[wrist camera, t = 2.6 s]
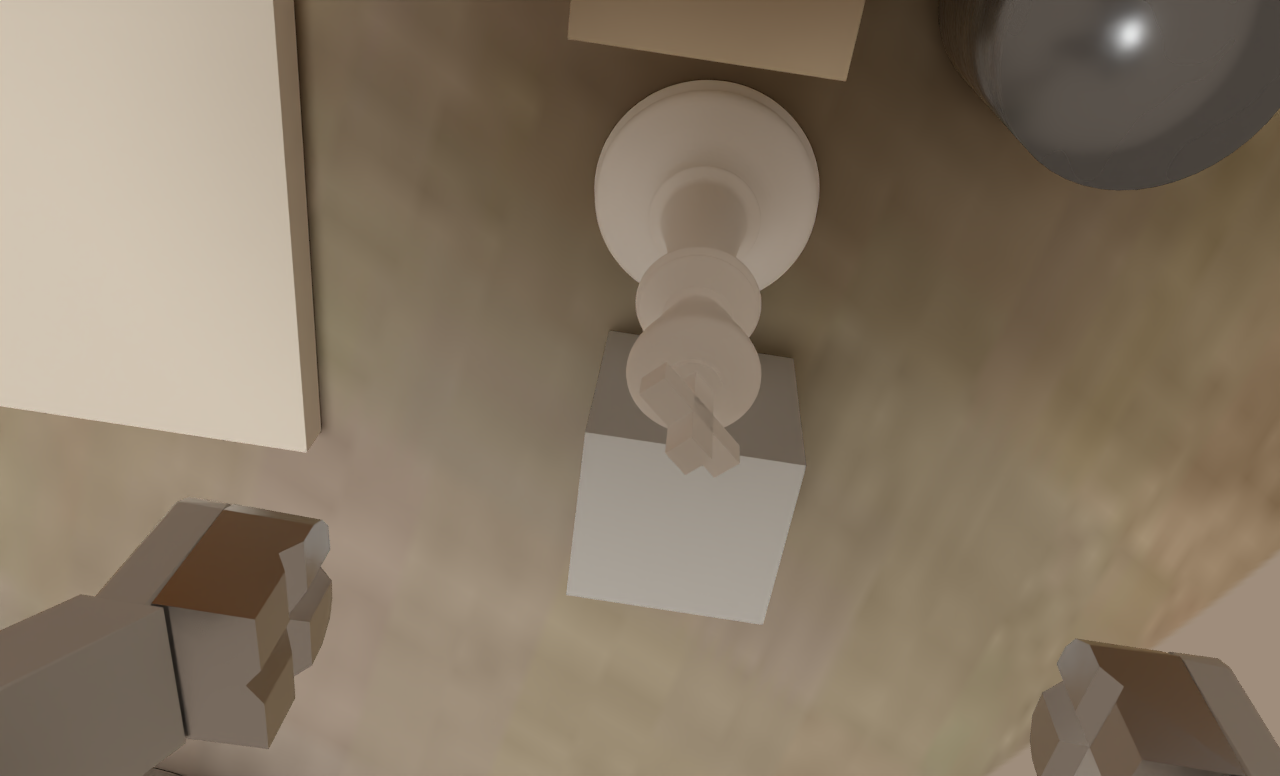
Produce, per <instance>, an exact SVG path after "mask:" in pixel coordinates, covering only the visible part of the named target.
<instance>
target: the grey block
mask: <svg viewBox="0 0 1280 776" xmlns="http://www.w3.org/2000/svg"><path fill="white" fill-rule="evenodd" d="M639 336H640V335H636V334H629V333H622V332H616V331H609V333H608V338H607V342H606V346H605V350H604V355H603V359H602V363H601V367H600V372H599V376H598V380H597V384H596V389H595V393H594V397H593V401H592V406H591V410H590V414H589V418H588V423H587V427H586V431H585V439H584V447H583V456H582V464H581V473H580V482H579V490H578V499H577V507H576V516H575V524H574V533H573V541H572V550H571V558H570V567H569V576H568V584H567V593H566V595H570V596H577V597H583V598H590V599H596V600H603V601H609V602H616V603H623V604H629V605H636V606H642V607H649V608H655V609H662V610H668V611H675V612H682V613H688V614H695V615H701V616H708V617H714V618H721V619H727V620H734V621H741V622H747V623H754V624H760V625H763V622H764V619H765V615H766V611H767V608H768V604H769V600H770V597H771V593H772V589H773V586H774V582H775V578H776V575H777V571H778V567H779V564H780V560H781V556H782V553H783V549H784V545H785V542H786V538H787V534H788V531H789V527H790V523H791V520H792V516H793V513H794V509H795V505H796V502H797V498H798V494H799V491H800V487H801V483H802V480H803V476H804V472H805V469H806V459H805V451H804V442H803V434H802V426H801V417H800V409H799V401H798V392H797V384H796V375H795V367H794V359H793V358H787V357H780V356H774V355H767V354H761V353H757V354H758V356H759V360H760V364H761V384H760V389H759V392H758V395H757V397H756V399H755V401H754V403H753V404H752V406H751V407H750V408H749V410H748V411H747V412H746V413H745V414H744V415H743V416H742V417H741V418H739V419H738V420H737V421H735V422H734V423H732V424H730V425H728V426H726V427H724V428H725V429H726V431H727V432H728V433H729V434H730V435H731V436H732V437H733V439H734V440H735V441H736V442H737V443H738V444H739V445H740V464H738V465H736V466H735V467H733V468H731V469H729V470H728V471H726V472H724V473H722V474H721V475H719V476H717V477H715V478H714V477H713V476H712V475H711V474H710V473H709V472H708V471H707V469H706V468H705V467H704V466H703V465H702V466H700V467H699V468H697V469H695V470H693V471H692V472H690V473H688V474H687V475H685V474H684V473H683V472H682V471H681V470H680V469H679V468H678V467H677V466H676V465H675V463H674V462H673V461H672V460H671V459H670V458H669V457H668V456H667V455H666V454H665V449H666V439H667V430H668V428H665V427H663V426H661V425H659V424H657V423H656V422H654V421H652V420H651V419H650V418H649V417H647V416H646V415H645V414H644V413H643V412H642V411H641V410H640V409H639V407H638V406H637V405H636V403H635V402H634V400H633V398H632V396H631V394H630V392H629V389H628V385H627V379H626V366H627V360H628V357H629V353H630V351H631V349H632V347H633V345H634V343H635V342H636V340H637V339H638V337H639Z"/></svg>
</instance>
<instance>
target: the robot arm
mask: <svg viewBox="0 0 1280 776" xmlns="http://www.w3.org/2000/svg"><path fill="white" fill-rule="evenodd" d="M329 551H330V541H329V530H328V525H327V524H326V523H325V522H324V521H323V520H320V519H315V518H309V517H304V516H298V515H293V514H287V513H281V512H276V511H270V510H265V509H259V508H254V507H248V506H243V505H237V504H233V505H231V504H227V503H221V502H216V501H210V500H205V499H199V498H194V497H187V498H185V499H182V500H180V501H178V502H176V503H175V504H174V505H173V506H172V507H171V509H170V510H169V511H168V512H167V513H166V514H165V516H164V517H163V518H162V519H161V520H160V521H159V523H158V524H157V525H156V526H155V527H154V528H153V530H152V531H151V532H150V533H149V534H148V535H147V537H146V538H145V539H144V540H143V541H142V542H141V544H140V545H139V546H138V547H137V548H136V549H135V551H134V552H133V553H132V554H131V555H130V556H129V558H128V559H127V560H126V561H125V562H124V563H123V565H122V566H121V567H120V568H119V569H118V570H117V572H116V573H115V574H114V575H113V576H112V577H111V579H110V580H109V581H108V582H107V583H106V584H105V586H104V587H103V588H102V589H101V590H100V591H99V593H98V594H97V595H96V596H95V597H94V596H87V595H79V596H76V597H74V598H72V599H70V600H67V601H65V602H63V603H61V604H58V605H56V606H54V607H52V608H50V609H47V610H45V611H43V612H41V613H38V614H36V615H34V616H32V617H30V618H27V619H25V620H23V621H21V622H18V623H16V624H14V625H12V626H9V627H7V628H5V629H3V630H1V631H0V776H142V775H143V774H145V773H146V772H148V771H149V770H150V769H152V768H153V767H154V766H156V765H157V764H158V763H160V762H161V761H162V760H164V759H165V758H166V757H168V756H169V755H171V754H172V753H173V752H175V751H176V750H177V749H179V748H180V747H181V746H183V745H184V744H185V743H186V738H188V739H196V740H204V741H211V742H219V743H227V744H234V745H242V746H250V747H257V748H265V749H269V747H270V745H271V743H272V742H273V740H274V738H275V736H276V734H277V732H278V730H279V728H280V726H281V724H282V722H283V720H284V719H285V717H286V715H287V713H288V711H289V709H290V707H291V705H292V703H293V701H294V699H295V687H294V676H295V675H297V674H299V673H300V672H302V671H303V670H305V669H307V668H308V667H310V666H312V664H313V662H314V660H315V658H316V656H317V654H318V652H319V650H320V648H321V646H322V643H323V640H324V637H325V633H326V630H327V626H328V623H329V620H330V613H331V605H332V580H331V579H330V578H329V577H328V575H327V574H326V573H325V572H324V571H323V569H322V568H321V565H322V563H323V561H324V560H325V558H326V556H327V554H328V552H329ZM1057 666H1058V668H1059V671H1060V674H1061V676H1062V679H1063V681H1062V682H1060V683H1058V684H1056V685H1055V686H1053V687H1051V688H1050V689H1048V690H1046V691H1044V692H1043V693H1042V694H1041V697H1040V699H1039V701H1038V703H1037V706H1036V708H1035V710H1034V713H1033V715H1032V724H1031V733H1030V745H1031V753H1032V760H1033V764H1034V767H1035V770H1036V773H1037V776H1280V748H1279V746H1278V744H1277V743H1276V742H1275V740H1274V738H1273V736H1272V735H1271V733H1270V732H1269V730H1268V728H1267V727H1266V725H1265V723H1264V722H1263V720H1262V718H1261V717H1260V715H1259V714H1258V712H1257V710H1256V709H1255V707H1254V705H1253V704H1252V702H1251V701H1250V699H1249V697H1248V696H1247V694H1246V693H1245V691H1244V689H1243V688H1242V686H1241V685H1240V683H1239V681H1238V680H1237V678H1236V676H1235V675H1234V673H1233V671H1232V670H1231V669H1230V667H1229V666H1227V665H1226V664H1225V663H1223V662H1222V661H1221V660H1219V659H1218V658H1211V657H1204V656H1196V655H1189V654H1182V653H1174V652H1169V653H1166V652H1162V651H1156V650H1149V649H1142V648H1136V647H1129V646H1122V645H1116V644H1109V643H1102V642H1096V641H1089V640H1082V639H1075V640H1073V641H1072V642H1071V643H1070V644H1069V645H1067V646H1066V647H1065V649H1064V651H1063V653H1062V655H1061V657H1060V658H1059V660H1058V662H1057Z"/></svg>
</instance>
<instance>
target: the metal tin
mask: <svg viewBox="0 0 1280 776" xmlns="http://www.w3.org/2000/svg"><path fill="white" fill-rule="evenodd" d="M938 13H939V26H940V32H941V38H942V41H943V44H944V47H945V50H946V52H947V54H948V56H949V58H950V60H951V63H952V64H953V66H954V67H955V69H956V70H957V71H958V73H959V74H960V76H961V77H962V78H963V79H964V80H965V81H966V82H967V83H968V84H969V86H970V87H971V88H972V89H973V90H974V91H975V92H976V93H977V94H978V96H979V97H980V98H981V99H982V100H983V101H984V102H985V103H986V105H987V106H988V107H989V108H990V109H991V110H992V111H993V112H994V113H995V115H996V116H997V117H998V118H999V119H1000V120H1001V121H1002V122H1003V123H1004V125H1005V126H1006V127H1007V128H1008V129H1009V130H1010V131H1011V132H1012V133H1013V135H1014V136H1015V137H1016V138H1017V139H1018V140H1019V141H1020V142H1021V143H1022V145H1023V146H1024V147H1025V148H1026V149H1027V150H1028V151H1029V152H1030V153H1031V154H1032V155H1033V156H1034V157H1035V158H1036V159H1037V161H1039V162H1040V163H1041V164H1043V165H1044V166H1045V167H1047V168H1048V169H1049V170H1051V171H1052V172H1054V173H1056V174H1058V175H1059V176H1061V177H1063V178H1065V179H1067V180H1070V181H1073V182H1075V183H1078V184H1081V185H1084V186H1089V187H1094V188H1098V189H1108V190H1138V189H1144V188H1151V187H1157V186H1160V185H1164V184H1168V183H1172V182H1175V181H1178V180H1181V179H1183V178H1186V177H1188V176H1191V175H1194V174H1196V173H1198V172H1200V171H1202V170H1204V169H1206V168H1208V167H1210V166H1212V165H1214V164H1215V163H1217V162H1219V161H1220V160H1222V159H1223V158H1225V157H1226V156H1228V155H1230V154H1231V153H1233V152H1234V151H1235V150H1237V149H1238V148H1239V147H1240V146H1242V145H1243V144H1244V143H1246V142H1247V141H1248V140H1249V139H1251V138H1252V137H1253V136H1254V135H1255V134H1256V133H1257V132H1258V131H1259V130H1260V129H1261V128H1262V127H1263V126H1264V125H1265V124H1266V123H1267V122H1268V121H1269V120H1270V119H1271V118H1272V116H1273V115H1274V114H1275V113H1276V112H1277V111H1278V109H1279V108H1280V0H939V6H938Z"/></svg>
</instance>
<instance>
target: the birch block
mask: <svg viewBox="0 0 1280 776" xmlns="http://www.w3.org/2000/svg"><path fill="white" fill-rule="evenodd" d="M864 4H865V0H571V1H570V13H569V25H568V37H567V39H570V40H577V41H583V42H590V43H597V44H603V45H610V46H616V47H623V48H629V49H636V50H643V51H649V52H656V53H662V54H669V55H675V56H682V57H689V58H695V59H702V60H708V61H715V62H721V63H728V64H734V65H741V66H748V67H754V68H761V69H767V70H774V71H780V72H787V73H794V74H800V75H807V76H813V77H820V78H826V79H833V80H840V81H846V79H847V75H848V71H849V67H850V63H851V58H852V54H853V50H854V46H855V42H856V38H857V33H858V29H859V25H860V21H861V17H862V13H863V8H864Z"/></svg>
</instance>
